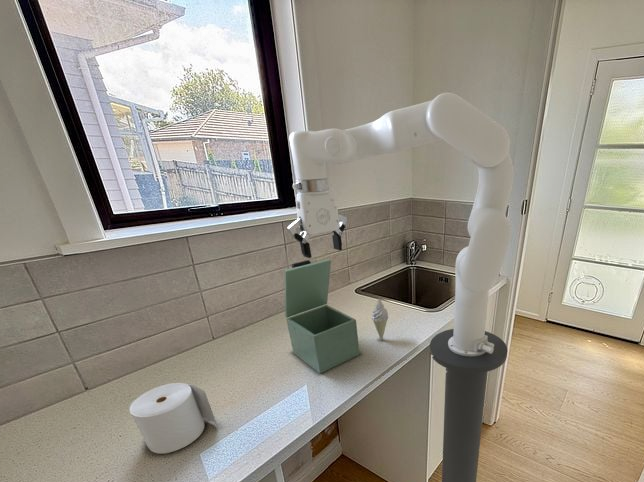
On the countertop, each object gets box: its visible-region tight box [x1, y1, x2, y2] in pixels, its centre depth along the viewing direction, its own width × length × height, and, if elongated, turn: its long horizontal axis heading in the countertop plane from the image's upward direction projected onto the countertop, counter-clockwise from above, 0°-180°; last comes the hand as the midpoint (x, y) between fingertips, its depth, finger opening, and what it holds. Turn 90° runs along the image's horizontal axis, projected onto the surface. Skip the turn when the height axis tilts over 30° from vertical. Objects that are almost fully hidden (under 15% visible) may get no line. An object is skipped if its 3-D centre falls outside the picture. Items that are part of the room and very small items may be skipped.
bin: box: [285, 304, 360, 374], centre depth 99 cm, size 16×14×12 cm
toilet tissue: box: [129, 382, 218, 455], centre depth 71 cm, size 11×12×10 cm
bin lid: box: [284, 258, 332, 319], centre depth 97 cm, size 16×14×5 cm
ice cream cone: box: [371, 297, 389, 341], centre depth 105 cm, size 5×5×15 cm
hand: (323, 253), depth 92 cm, fingers open, 9 cm apart
